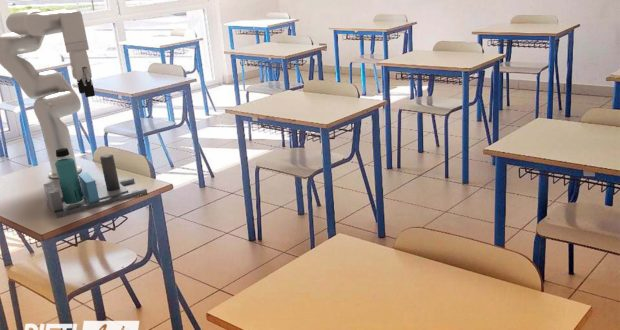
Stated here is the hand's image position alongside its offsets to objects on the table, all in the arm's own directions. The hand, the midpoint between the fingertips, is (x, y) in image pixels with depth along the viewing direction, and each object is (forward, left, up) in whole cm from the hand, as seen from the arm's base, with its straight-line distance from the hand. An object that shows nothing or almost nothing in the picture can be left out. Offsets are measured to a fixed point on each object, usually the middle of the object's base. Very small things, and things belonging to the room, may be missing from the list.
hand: (87, 94), depth 227 cm
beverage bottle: (+17, -15, -34) cm, 40 cm away
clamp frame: (+17, -7, -33) cm, 38 cm away
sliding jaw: (+17, -4, -33) cm, 37 cm away
